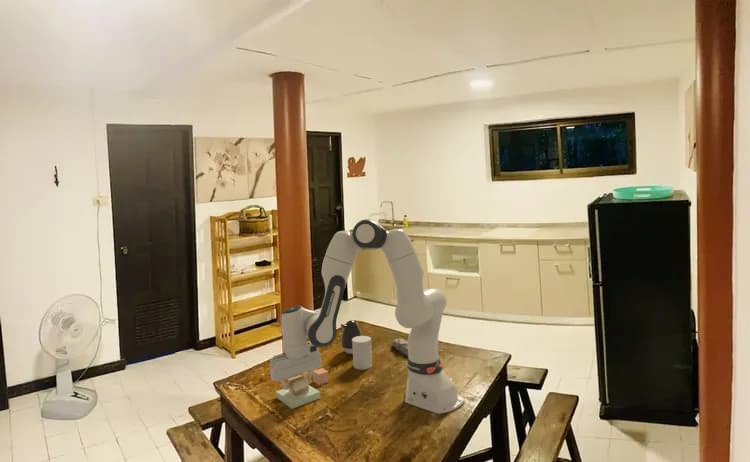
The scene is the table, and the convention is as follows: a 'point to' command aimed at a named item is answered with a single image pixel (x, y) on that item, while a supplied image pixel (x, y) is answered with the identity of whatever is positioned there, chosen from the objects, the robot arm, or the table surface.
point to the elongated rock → (401, 346)
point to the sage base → (299, 400)
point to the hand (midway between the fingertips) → (297, 385)
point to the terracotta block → (320, 376)
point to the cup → (362, 352)
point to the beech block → (298, 385)
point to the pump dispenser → (349, 335)
